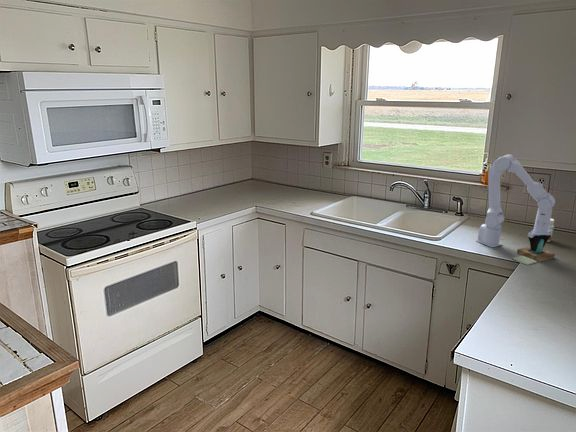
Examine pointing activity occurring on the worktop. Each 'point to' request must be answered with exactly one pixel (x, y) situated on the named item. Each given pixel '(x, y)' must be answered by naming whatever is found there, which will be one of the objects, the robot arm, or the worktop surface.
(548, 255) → the header block
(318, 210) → the worktop surface
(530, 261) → the rubber mat
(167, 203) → the worktop surface
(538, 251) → the teal cylinder
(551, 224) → the pill bottle
